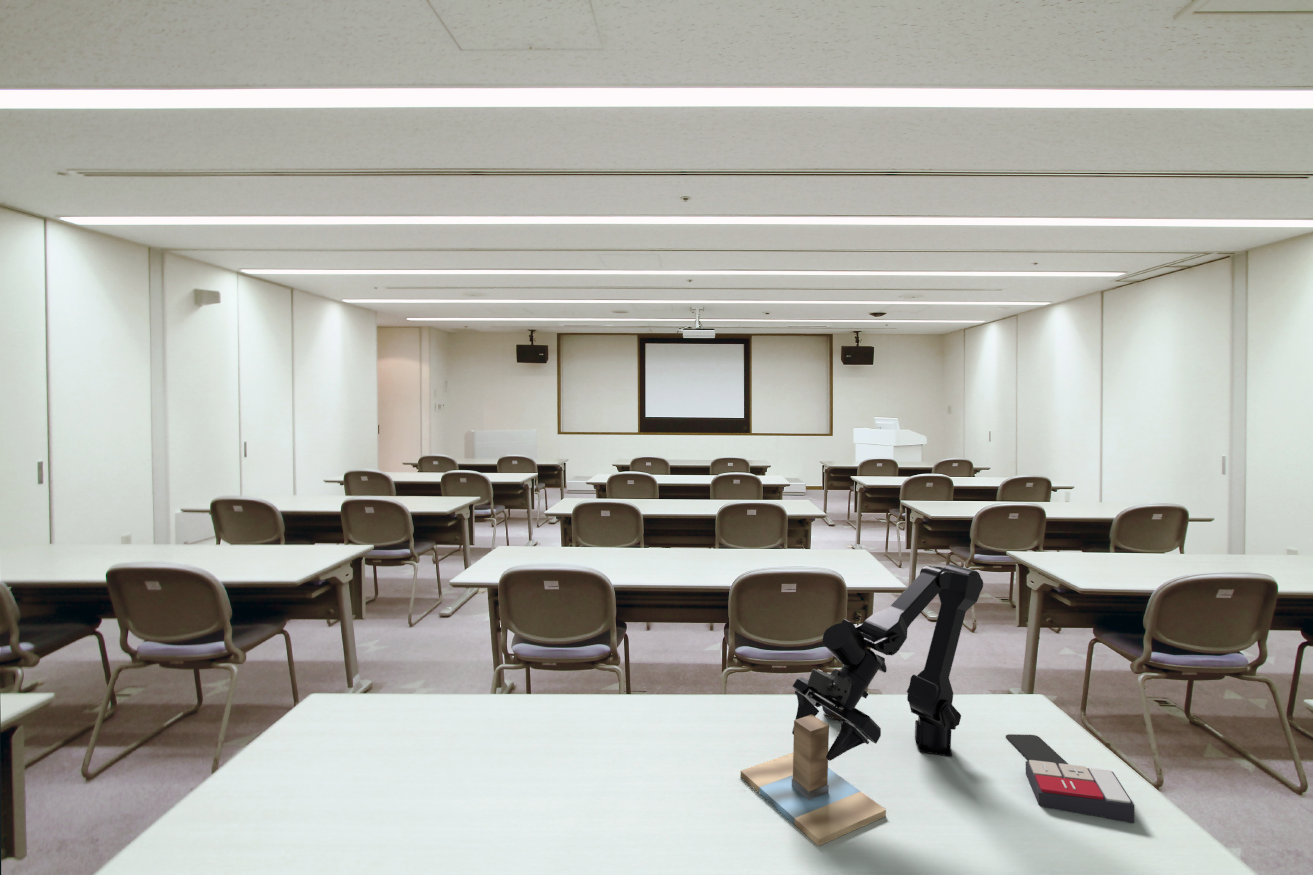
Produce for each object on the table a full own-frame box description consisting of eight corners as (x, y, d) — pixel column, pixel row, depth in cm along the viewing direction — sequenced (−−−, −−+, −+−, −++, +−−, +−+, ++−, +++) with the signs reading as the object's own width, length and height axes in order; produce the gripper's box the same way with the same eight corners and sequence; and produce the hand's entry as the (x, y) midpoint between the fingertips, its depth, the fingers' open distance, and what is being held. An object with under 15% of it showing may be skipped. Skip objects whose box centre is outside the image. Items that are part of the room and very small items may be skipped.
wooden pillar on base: (810, 778, 124) (812, 713, 123) (828, 792, 120) (830, 725, 119) (791, 785, 121) (792, 719, 120) (808, 800, 117) (810, 731, 116)
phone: (1037, 734, 142) (1080, 774, 127) (1037, 738, 142) (1080, 778, 127) (1003, 734, 142) (1042, 773, 127) (1003, 737, 142) (1042, 777, 127)
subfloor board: (740, 776, 126) (740, 770, 126) (802, 754, 134) (802, 749, 134) (818, 845, 107) (818, 839, 107) (885, 815, 115) (886, 809, 115)
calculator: (1024, 756, 128) (1112, 766, 123) (1025, 777, 128) (1112, 788, 124) (1038, 788, 118) (1135, 801, 113) (1039, 811, 118) (1135, 824, 113)
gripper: (800, 637, 129) (755, 703, 125) (871, 673, 113) (823, 750, 109) (828, 667, 134) (786, 731, 129) (901, 706, 117) (855, 781, 113)
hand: (810, 746), depth 120 cm, fingers open, 9 cm apart
